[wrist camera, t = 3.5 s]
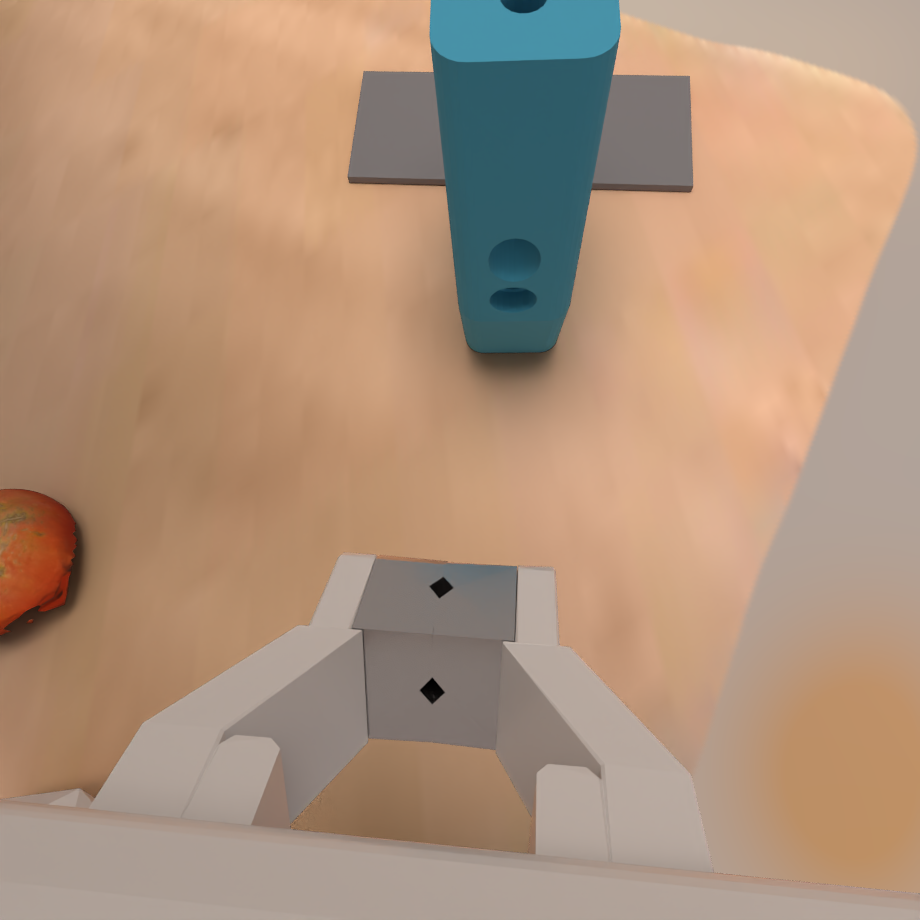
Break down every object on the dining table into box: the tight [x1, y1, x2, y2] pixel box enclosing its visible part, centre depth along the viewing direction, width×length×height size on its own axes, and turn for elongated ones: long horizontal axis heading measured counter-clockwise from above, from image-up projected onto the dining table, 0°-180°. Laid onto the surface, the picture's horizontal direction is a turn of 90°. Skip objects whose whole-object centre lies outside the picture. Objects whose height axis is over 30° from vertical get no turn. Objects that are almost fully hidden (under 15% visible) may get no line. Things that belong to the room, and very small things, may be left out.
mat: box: [348, 71, 693, 192], centre depth 42 cm, size 20×8×1 cm, turn 86°
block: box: [430, 0, 621, 353], centre depth 29 cm, size 12×5×20 cm, turn 179°
